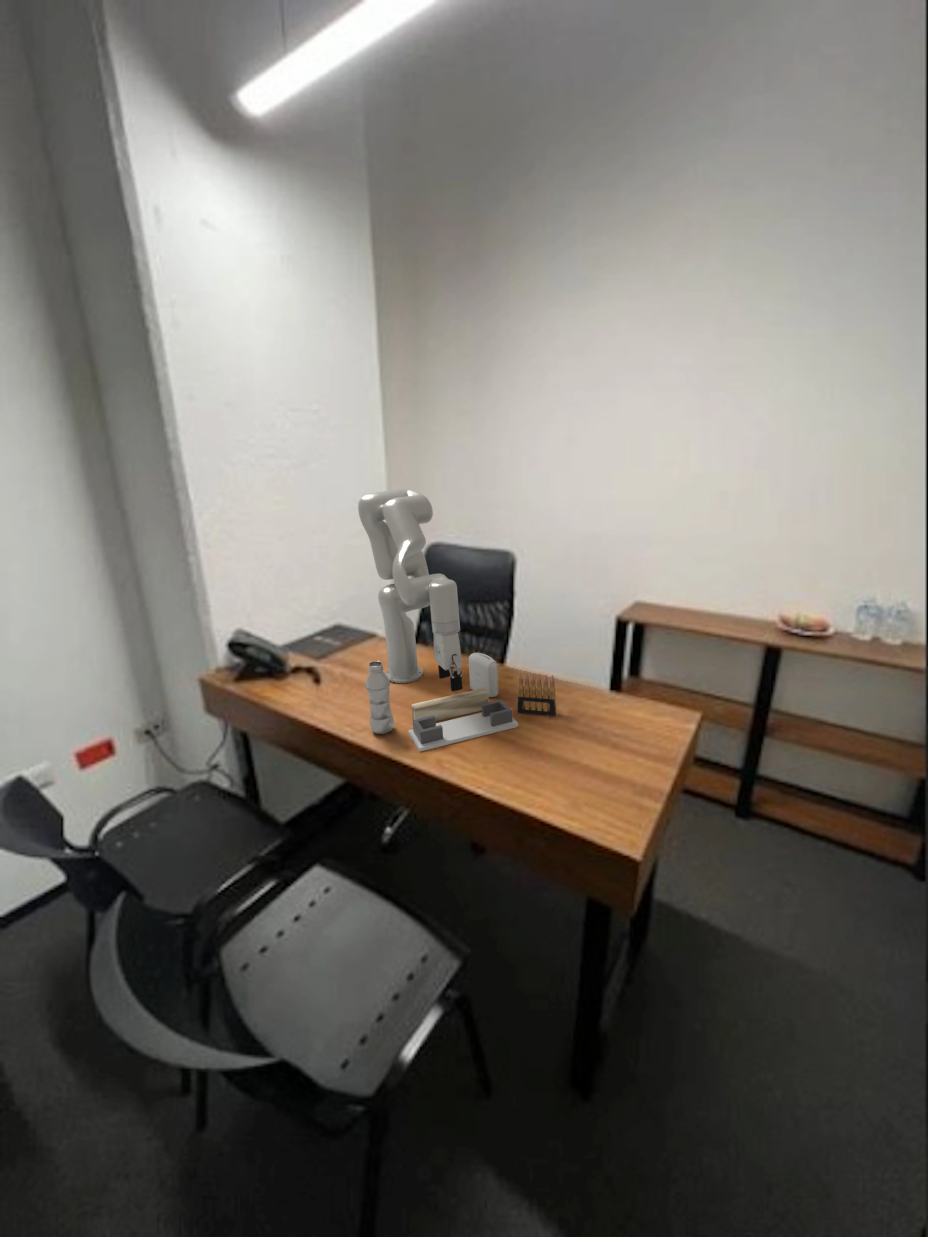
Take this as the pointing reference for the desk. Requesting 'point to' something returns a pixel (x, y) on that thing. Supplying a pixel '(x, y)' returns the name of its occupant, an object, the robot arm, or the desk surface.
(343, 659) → the desk surface
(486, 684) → the photo printer
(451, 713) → the slat
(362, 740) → the desk surface
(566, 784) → the desk surface
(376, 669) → the plastic bottle
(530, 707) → the ammunition clip
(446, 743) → the end cap board
